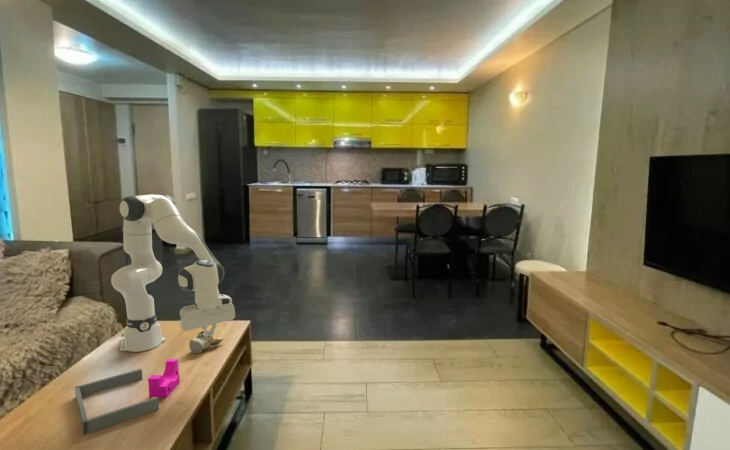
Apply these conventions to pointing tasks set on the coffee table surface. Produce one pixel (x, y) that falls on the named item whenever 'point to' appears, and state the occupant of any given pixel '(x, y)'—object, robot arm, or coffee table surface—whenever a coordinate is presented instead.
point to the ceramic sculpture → (202, 342)
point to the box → (116, 415)
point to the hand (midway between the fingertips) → (209, 335)
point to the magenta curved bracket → (164, 380)
